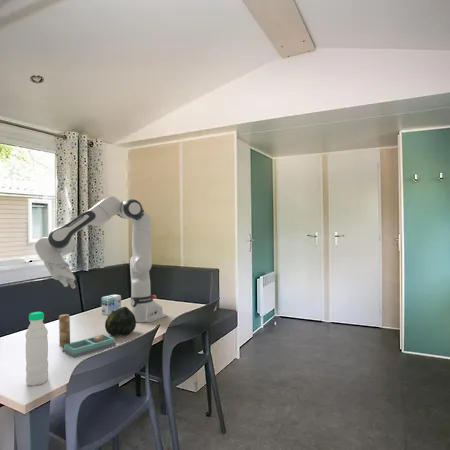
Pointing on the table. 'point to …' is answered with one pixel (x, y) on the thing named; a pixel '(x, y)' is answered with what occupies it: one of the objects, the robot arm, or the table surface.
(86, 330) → the table surface
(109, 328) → the squash
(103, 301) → the light bulb box
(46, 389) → the table surface
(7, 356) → the table surface
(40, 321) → the water bottle
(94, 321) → the table surface
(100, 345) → the housing plate
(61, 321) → the oak post
